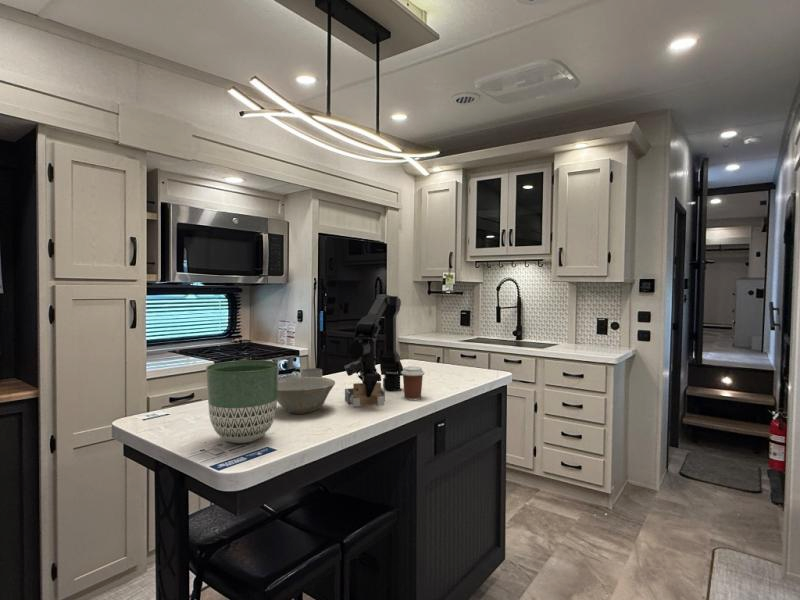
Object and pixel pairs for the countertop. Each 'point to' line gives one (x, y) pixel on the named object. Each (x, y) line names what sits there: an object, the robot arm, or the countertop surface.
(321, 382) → the ceramic bowl
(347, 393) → the carcass
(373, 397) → the door
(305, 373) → the cup
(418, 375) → the coffee cup
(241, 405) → the planter
